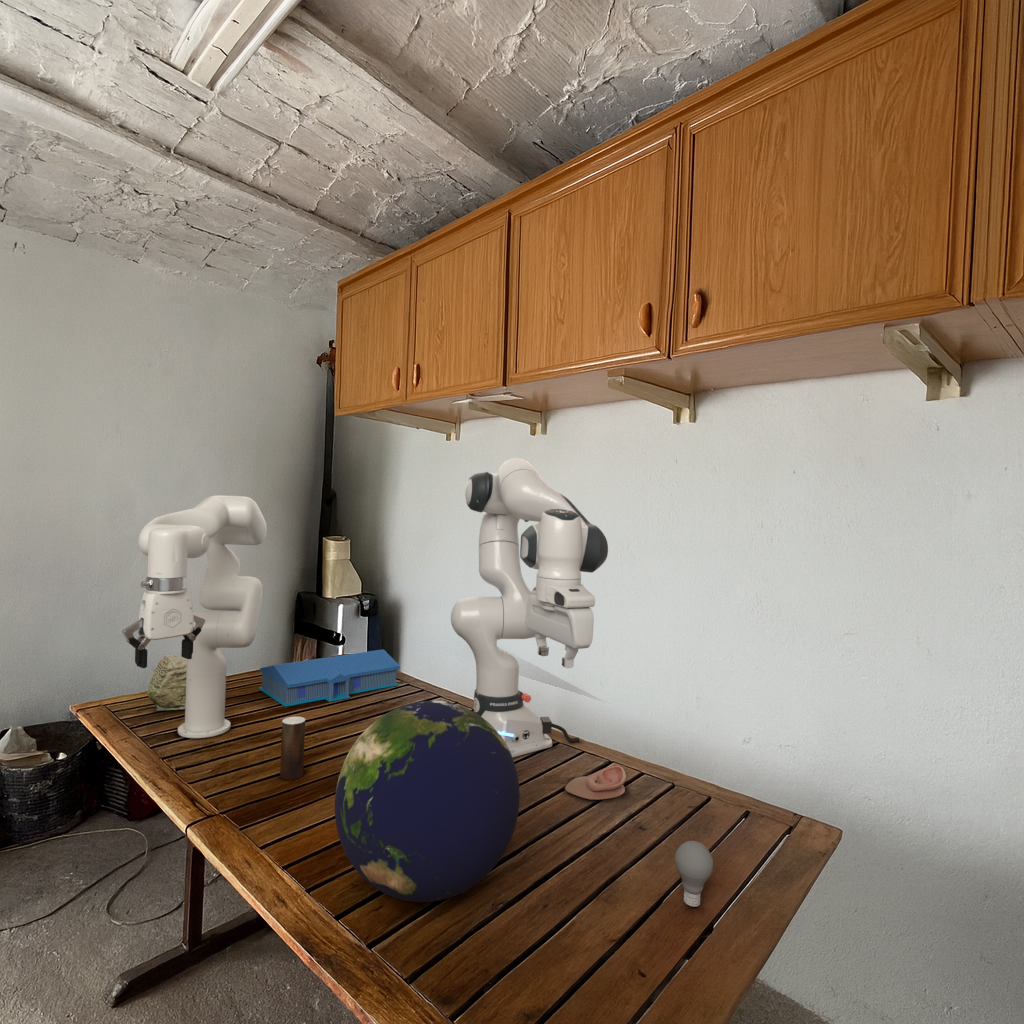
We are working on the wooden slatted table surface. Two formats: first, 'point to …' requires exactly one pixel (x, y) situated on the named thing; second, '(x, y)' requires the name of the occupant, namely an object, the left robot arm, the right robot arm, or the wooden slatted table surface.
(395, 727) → the globe
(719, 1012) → the wooden slatted table surface
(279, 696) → the model building
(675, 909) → the wooden slatted table surface
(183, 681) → the fossil
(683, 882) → the light bulb
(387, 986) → the wooden slatted table surface
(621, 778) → the rubber human ear
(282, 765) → the tin
